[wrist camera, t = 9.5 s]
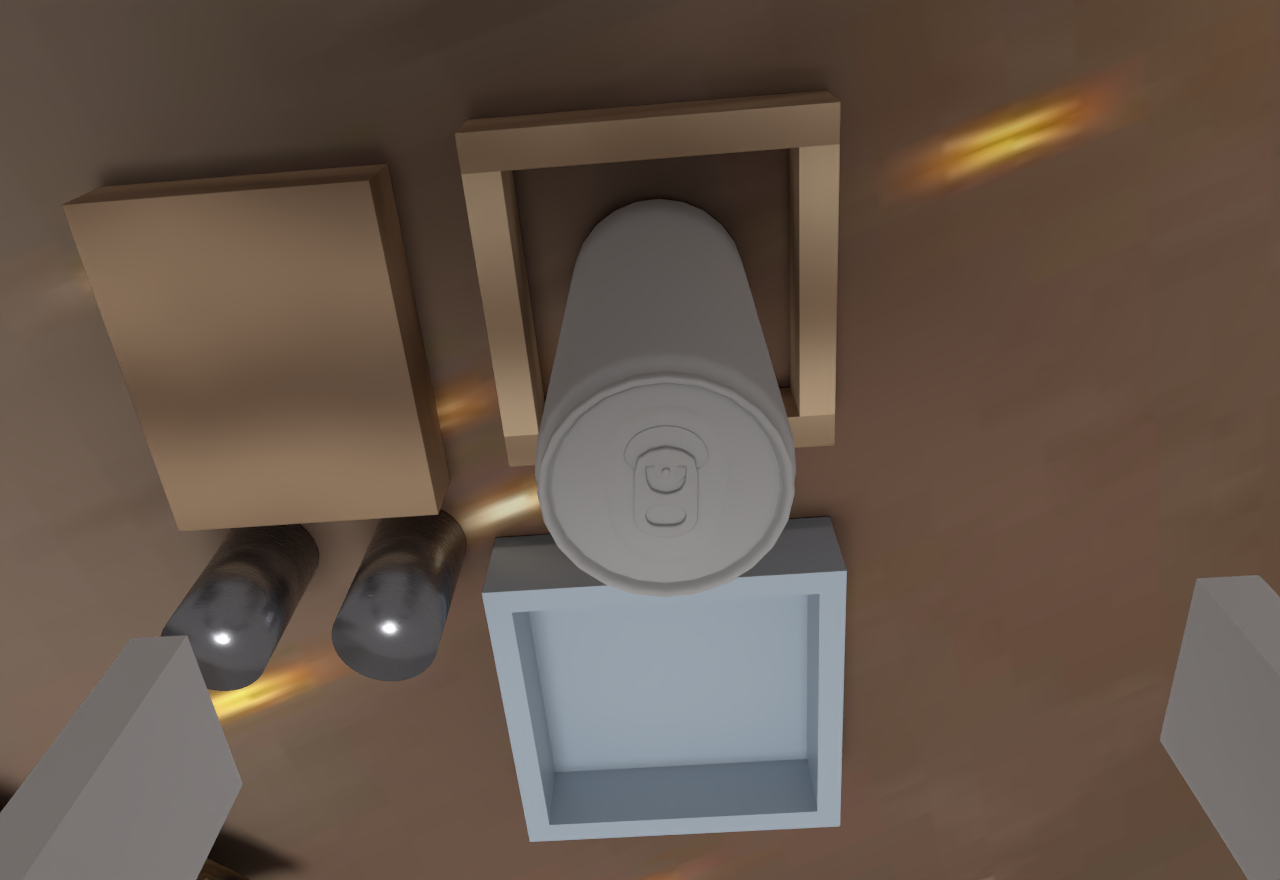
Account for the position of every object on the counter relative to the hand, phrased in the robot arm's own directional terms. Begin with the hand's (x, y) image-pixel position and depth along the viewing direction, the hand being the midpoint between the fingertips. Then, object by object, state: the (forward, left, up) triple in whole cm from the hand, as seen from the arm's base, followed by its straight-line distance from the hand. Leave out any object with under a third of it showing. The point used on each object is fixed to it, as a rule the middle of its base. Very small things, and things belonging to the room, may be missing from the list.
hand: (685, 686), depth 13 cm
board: (+1, -11, -17) cm, 21 cm away
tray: (+14, -1, -17) cm, 22 cm away
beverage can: (0, 0, -17) cm, 17 cm away
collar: (0, 0, -17) cm, 17 cm away
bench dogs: (+8, -11, -17) cm, 22 cm away
